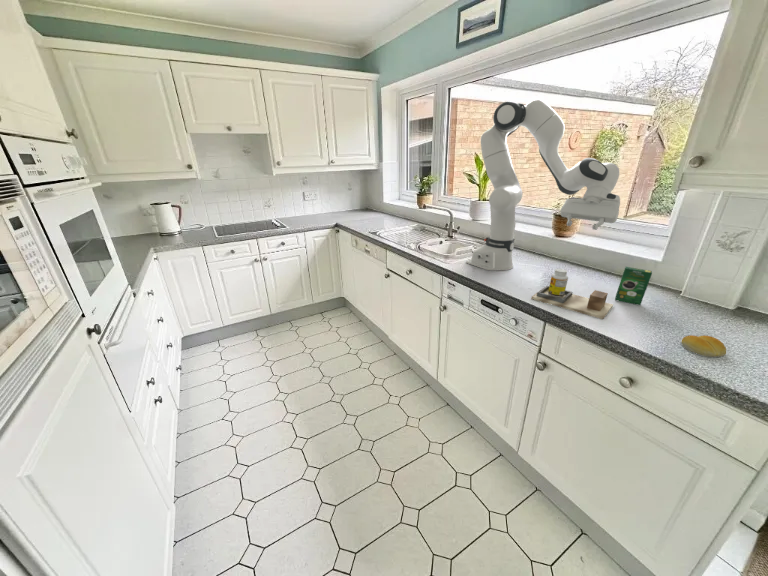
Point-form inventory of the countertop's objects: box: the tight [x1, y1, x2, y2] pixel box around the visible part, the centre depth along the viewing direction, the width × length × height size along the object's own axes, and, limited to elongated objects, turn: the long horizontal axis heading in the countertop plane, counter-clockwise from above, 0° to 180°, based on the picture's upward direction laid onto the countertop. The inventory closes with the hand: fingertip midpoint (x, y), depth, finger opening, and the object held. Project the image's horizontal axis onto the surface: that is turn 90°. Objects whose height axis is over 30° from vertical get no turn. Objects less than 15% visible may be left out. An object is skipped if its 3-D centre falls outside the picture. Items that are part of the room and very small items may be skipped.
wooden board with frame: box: [531, 285, 614, 320], centre depth 118 cm, size 24×13×6 cm, turn 45°
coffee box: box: [614, 266, 653, 306], centre depth 116 cm, size 8×3×13 cm, turn 53°
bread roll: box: [681, 334, 727, 358], centre depth 89 cm, size 8×9×4 cm
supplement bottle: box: [548, 268, 569, 297], centre depth 121 cm, size 6×6×10 cm
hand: (581, 226), depth 127 cm, fingers open, 8 cm apart
